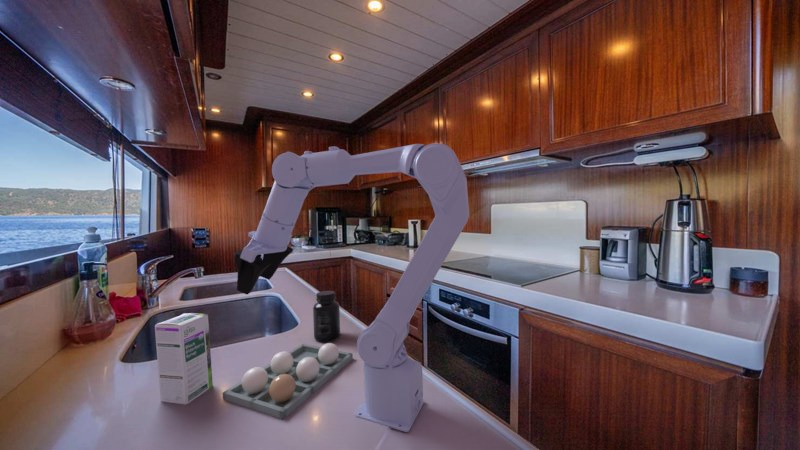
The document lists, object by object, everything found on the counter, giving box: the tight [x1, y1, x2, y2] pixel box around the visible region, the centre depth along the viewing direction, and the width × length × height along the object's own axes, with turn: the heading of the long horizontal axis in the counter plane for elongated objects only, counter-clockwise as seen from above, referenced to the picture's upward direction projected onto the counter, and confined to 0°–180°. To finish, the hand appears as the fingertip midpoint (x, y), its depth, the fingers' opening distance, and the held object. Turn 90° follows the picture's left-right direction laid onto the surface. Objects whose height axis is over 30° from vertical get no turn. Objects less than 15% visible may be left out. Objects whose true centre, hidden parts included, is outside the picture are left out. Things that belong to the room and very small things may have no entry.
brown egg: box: [269, 374, 296, 403], centre depth 52 cm, size 4×4×4 cm
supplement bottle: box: [312, 290, 341, 343], centre depth 78 cm, size 7×7×12 cm
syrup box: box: [154, 312, 214, 405], centre depth 54 cm, size 6×6×14 cm
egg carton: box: [222, 342, 354, 420], centre depth 59 cm, size 14×21×5 cm
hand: (254, 284), depth 56 cm, fingers open, 7 cm apart
